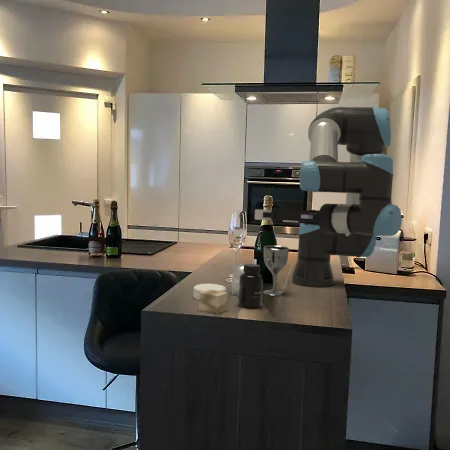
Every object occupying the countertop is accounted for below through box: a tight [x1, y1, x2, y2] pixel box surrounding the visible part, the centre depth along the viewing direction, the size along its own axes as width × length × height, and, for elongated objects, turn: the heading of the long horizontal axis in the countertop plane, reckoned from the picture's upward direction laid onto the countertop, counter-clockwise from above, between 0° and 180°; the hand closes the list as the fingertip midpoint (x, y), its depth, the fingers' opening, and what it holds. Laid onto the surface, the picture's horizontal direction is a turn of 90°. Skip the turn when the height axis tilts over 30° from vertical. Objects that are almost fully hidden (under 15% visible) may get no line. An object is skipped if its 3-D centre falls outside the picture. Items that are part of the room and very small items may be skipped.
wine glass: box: [262, 245, 289, 297], centre depth 160 cm, size 8×8×15 cm
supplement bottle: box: [237, 263, 264, 309], centre depth 143 cm, size 7×7×12 cm
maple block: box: [198, 289, 228, 315], centre depth 137 cm, size 6×5×5 cm
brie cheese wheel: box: [192, 283, 227, 301], centre depth 151 cm, size 10×10×4 cm
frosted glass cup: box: [231, 263, 244, 297], centre depth 157 cm, size 7×7×9 cm
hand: (270, 215), depth 139 cm, fingers open, 13 cm apart
